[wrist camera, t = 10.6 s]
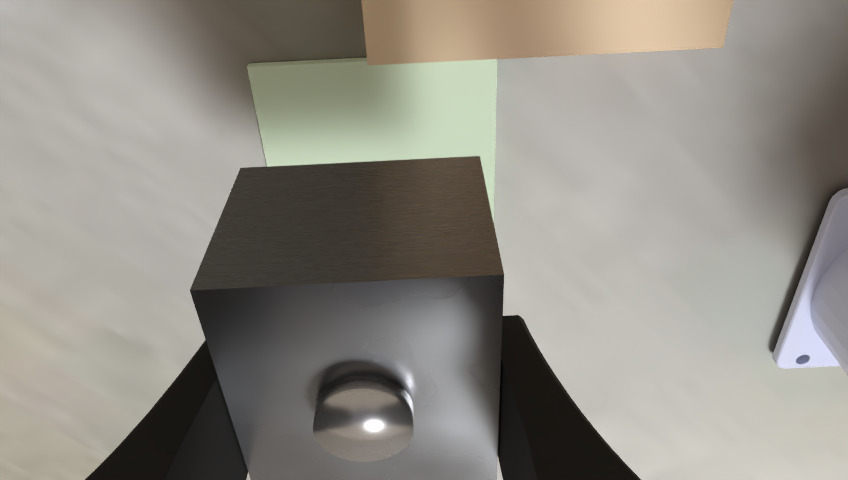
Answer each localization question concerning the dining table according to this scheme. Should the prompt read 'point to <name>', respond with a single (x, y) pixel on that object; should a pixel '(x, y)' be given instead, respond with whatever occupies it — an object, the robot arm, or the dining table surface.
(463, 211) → the metal box with knob
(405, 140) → the mat
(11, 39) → the dining table surface
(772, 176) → the dining table surface
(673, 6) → the wooden tray with rails
